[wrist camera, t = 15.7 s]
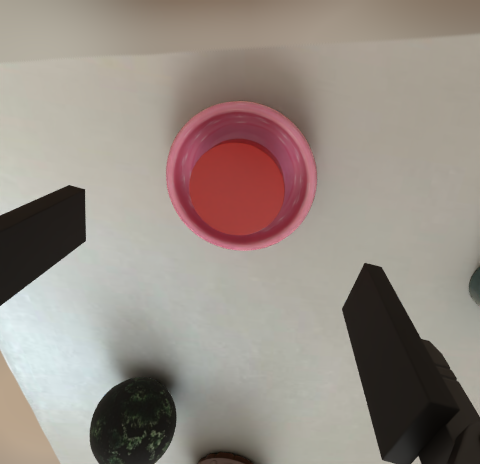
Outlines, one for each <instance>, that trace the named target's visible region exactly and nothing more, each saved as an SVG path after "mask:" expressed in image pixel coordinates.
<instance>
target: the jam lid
mask: <svg viewBox="0 0 480 464" xmlns="http://www.w3.org/2000/svg"><path fill="white" fill-rule="evenodd" d="M189 193H190V198H191V201H192V204H193V206H194V208H195V210H196V212H197V213H198V215H199V216H200V217H201V219H202V220H203V221H204V222H205V223H207V224H208V225H209V226H211V227H212V228H214V229H216V230H218V231H220V232H223V233H226V234H230V235H248V234H252V233H255V232H258V231H260V230H262V229H264V228H265V227H267V226H268V225H269V224H270V223H271V222H272V221H273V220H274V219H275V218H276V217H277V215H278V214H279V212H280V210H281V208H282V205H283V201H284V196H285V183H284V175H283V171H282V168H281V166H280V164H279V162H278V160H277V159H276V157H275V156H274V155H273V154H272V153H271V152H270V151H269V150H268V149H267V148H266V147H264V146H263V145H261V144H259V143H257V142H254V141H251V140H247V139H229V140H225V141H222V142H220V143H218V144H216V145H214V146H213V147H212V148H210V149H209V150H208V151H207V152H205V153H204V154H203V155H202V156H201V157H200V158H199V160H198V161H197V162H196V164H195V166H194V168H193V170H192V172H191V176H190V181H189Z"/></svg>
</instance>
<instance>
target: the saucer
mask: <svg viewBox="0 0 480 464" xmlns="http://www.w3.org/2000/svg"><path fill="white" fill-rule="evenodd" d="M229 139H247V140H251V141H254V142H257V143H259V144H261V145H263V146H264V147H266V148H267V149H268V150H269V151H270V152H271V153H272V154H273V155H274V156H275V157H276V159H277V160H278V162H279V164H280V166H281V168H282V171H283V175H284V183H285V196H284V201H283V205H282V208H281V210H280V212H279V214H278V215H277V217H276V218H275V219H274V220H273V221H272V222H271V223H270V224H269V225H268V226H267V227H265V228H264V229H262V230H260V231H258V232H255V233H252V234H248V235H230V234H226V233H223V232H220V231H218V230H216V229H214V228H212V227H211V226H209V225H208V224H207V223H205V222H204V221H203V220H202V219H201V217H200V216H199V215H198V213H197V212H196V210H195V208H194V206H193V204H192V201H191V198H190V193H189V181H190V176H191V172H192V170H193V168H194V166H195V164H196V162H197V161H198V160H199V158H200V157H201V156H202V155H203V154H204V153H205V152H207V151H208V150H209V149H210V148H212V147H213V146H214V145H216V144H218V143H220V142H222V141H225V140H229ZM166 180H167V188H168V192H169V196H170V199H171V202H172V204H173V206H174V208H175V210H176V212H177V214H178V215H179V217H180V218H181V220H182V221H183V222H184V223H185V224H186V226H187V227H188V228H189V229H190V230H192V231H193V232H194V233H195V234H196V235H198V236H199V237H201V238H202V239H204V240H206V241H208V242H210V243H212V244H214V245H216V246H219V247H223V248H226V249H232V250H256V249H261V248H265V247H268V246H271V245H273V244H276V243H278V242H280V241H281V240H283V239H284V238H286V237H287V236H289V235H290V234H291V233H292V232H293V231H295V230H296V229H297V227H298V226H299V225H300V224H301V223H302V222H303V220H304V219H305V217H306V216H307V214H308V212H309V210H310V208H311V205H312V203H313V200H314V197H315V192H316V185H317V171H316V164H315V160H314V156H313V153H312V151H311V148H310V146H309V144H308V142H307V140H306V139H305V137H304V135H303V134H302V133H301V131H300V130H299V129H298V128H297V127H296V126H295V124H294V123H293V122H291V121H290V120H289V119H288V118H287V117H285V116H284V115H283V114H281V113H280V112H278V111H276V110H274V109H272V108H270V107H268V106H265V105H262V104H258V103H254V102H248V101H231V102H224V103H220V104H216V105H213V106H211V107H208V108H206V109H204V110H203V111H201V112H199V113H198V114H196V115H195V116H193V117H192V118H191V119H190V120H189V121H188V122H187V123H186V124H185V125H184V126H183V127H182V129H181V130H180V131H179V133H178V134H177V136H176V138H175V139H174V141H173V144H172V146H171V148H170V152H169V155H168V160H167V166H166Z"/></svg>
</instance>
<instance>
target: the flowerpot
mask: <svg viewBox="0 0 480 464" xmlns="http://www.w3.org/2000/svg"><path fill="white" fill-rule="evenodd" d="M198 464H253V463H252V462H251V461H249V460H247V459H246V458H243V457H241V456H238V455H235V456H234V455H233V454H232V453H225V452H219V453H218V454H213V453H212V454H209V455H207V457H206V458H202V459H201V460H200V461H199V463H198Z"/></svg>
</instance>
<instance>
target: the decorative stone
mask: <svg viewBox="0 0 480 464" xmlns="http://www.w3.org/2000/svg"><path fill="white" fill-rule="evenodd" d="M175 427H176V408H175V404H174V401H173V398H172V396H171V394H170V393H169V391H168V390H167V389H166V388H165V387H164V386H163V385H162V384H161V383H159V382H158V381H156V380H153V379H150V378H133V379H129V380H126V381H124V382H122V383H120V384H118V385H116V386H115V387H113V388H112V389H111V390H110V391H108V392H107V393H106V395H105V396H104V397H103V398H102V399H101V401H100V402H99V404H98V406H97V408H96V409H95V412H94V414H93V417H92V421H91V427H90V445H91V449H92V452H93V454H94V456H95V458H96V460H97V461H98V463H99V464H154V463H156V462H157V461H158V460H159V459H160V458H161V457H162V455H163V454H164V453H165V451H166V450H167V448H168V447H169V445H170V443H171V441H172V438H173V435H174V432H175Z"/></svg>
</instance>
